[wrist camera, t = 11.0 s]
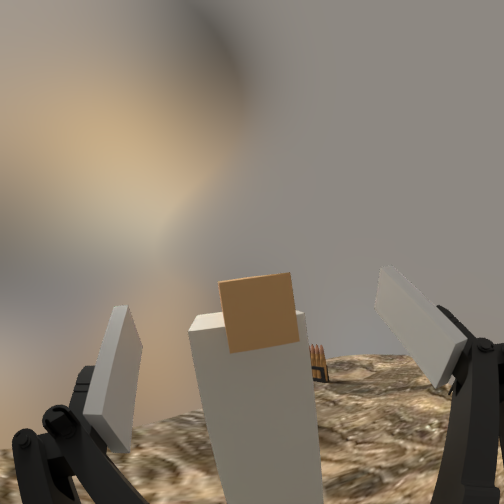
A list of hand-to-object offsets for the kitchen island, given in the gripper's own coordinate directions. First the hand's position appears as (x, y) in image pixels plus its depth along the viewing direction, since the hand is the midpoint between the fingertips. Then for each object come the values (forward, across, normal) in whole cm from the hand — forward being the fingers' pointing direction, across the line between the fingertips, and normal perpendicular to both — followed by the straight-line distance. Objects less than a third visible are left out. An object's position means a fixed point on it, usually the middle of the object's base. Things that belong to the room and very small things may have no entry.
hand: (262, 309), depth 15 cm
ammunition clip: (+48, +22, -67) cm, 86 cm away
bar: (+6, 0, -5) cm, 8 cm away
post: (-8, 0, -34) cm, 35 cm away
